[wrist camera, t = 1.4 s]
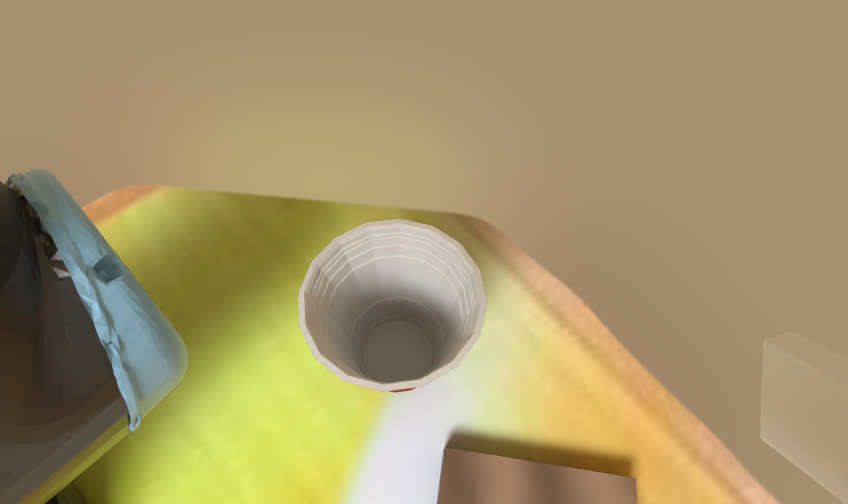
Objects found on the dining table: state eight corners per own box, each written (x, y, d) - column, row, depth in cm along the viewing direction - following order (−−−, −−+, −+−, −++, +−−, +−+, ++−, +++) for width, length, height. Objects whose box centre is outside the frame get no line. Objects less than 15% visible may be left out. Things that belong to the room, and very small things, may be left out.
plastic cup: (439, 270, 43) (448, 191, 33) (488, 395, 39) (518, 352, 28) (311, 309, 42) (276, 240, 31) (347, 446, 37) (321, 420, 26)
